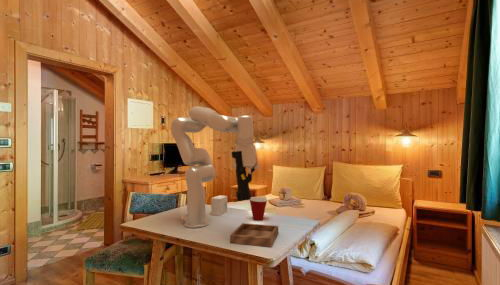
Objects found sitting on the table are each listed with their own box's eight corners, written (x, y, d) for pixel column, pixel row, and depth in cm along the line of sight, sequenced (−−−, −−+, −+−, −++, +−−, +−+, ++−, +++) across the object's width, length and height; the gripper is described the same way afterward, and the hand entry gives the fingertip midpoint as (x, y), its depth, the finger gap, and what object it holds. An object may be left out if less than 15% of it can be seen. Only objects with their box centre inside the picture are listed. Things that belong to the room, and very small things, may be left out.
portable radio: (251, 200, 118) (245, 145, 118) (238, 202, 117) (232, 146, 117) (249, 196, 126) (243, 145, 125) (236, 198, 125) (230, 146, 125)
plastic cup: (266, 222, 143) (266, 200, 143) (247, 221, 145) (247, 200, 145) (269, 217, 154) (268, 196, 154) (251, 216, 156) (251, 196, 156)
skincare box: (220, 216, 158) (220, 198, 158) (210, 215, 160) (210, 198, 160) (227, 211, 167) (227, 195, 168) (218, 211, 170) (218, 194, 170)
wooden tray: (230, 243, 113) (230, 235, 113) (242, 230, 130) (242, 223, 130) (271, 247, 108) (270, 238, 108) (278, 233, 125) (278, 225, 125)
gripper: (226, 142, 120) (226, 183, 119) (260, 141, 115) (261, 183, 115) (231, 143, 127) (232, 180, 126) (264, 142, 122) (264, 181, 122)
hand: (246, 181), depth 120 cm, fingers closed on portable radio, 2 cm apart
